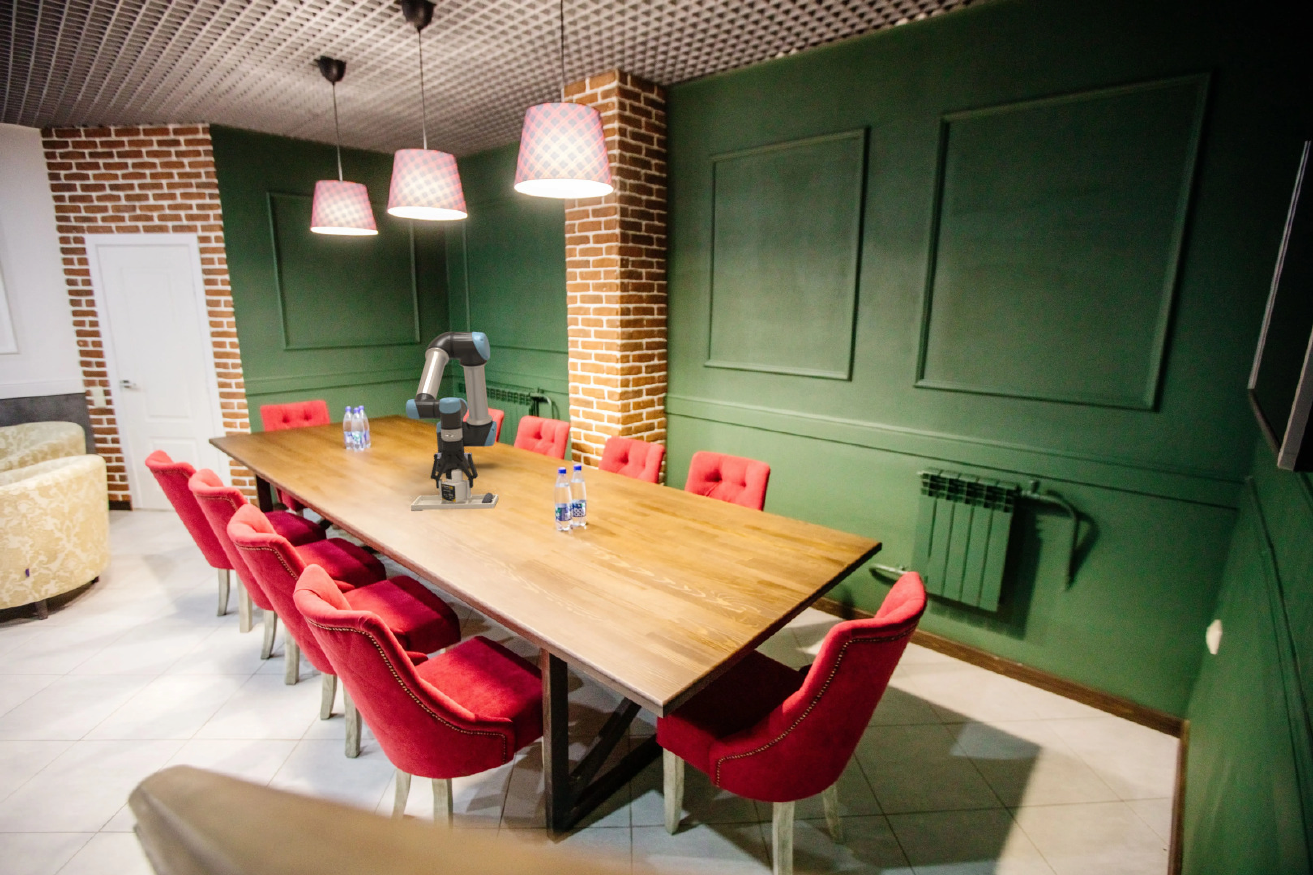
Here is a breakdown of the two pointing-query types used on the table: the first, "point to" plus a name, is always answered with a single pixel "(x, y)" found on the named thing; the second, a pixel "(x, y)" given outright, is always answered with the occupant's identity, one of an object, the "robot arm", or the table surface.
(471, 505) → the organiser
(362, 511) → the table surface
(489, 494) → the grey cylinder
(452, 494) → the medicine bottle
